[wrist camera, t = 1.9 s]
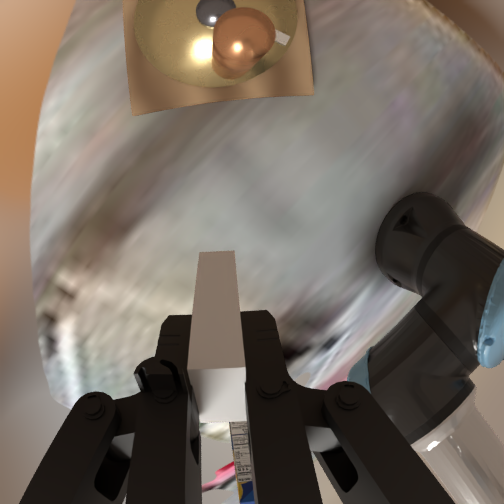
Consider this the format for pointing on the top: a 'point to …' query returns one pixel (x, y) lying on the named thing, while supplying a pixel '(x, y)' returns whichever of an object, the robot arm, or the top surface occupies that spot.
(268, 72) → the levelling stand
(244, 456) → the beverage box
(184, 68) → the disc
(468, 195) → the top surface
